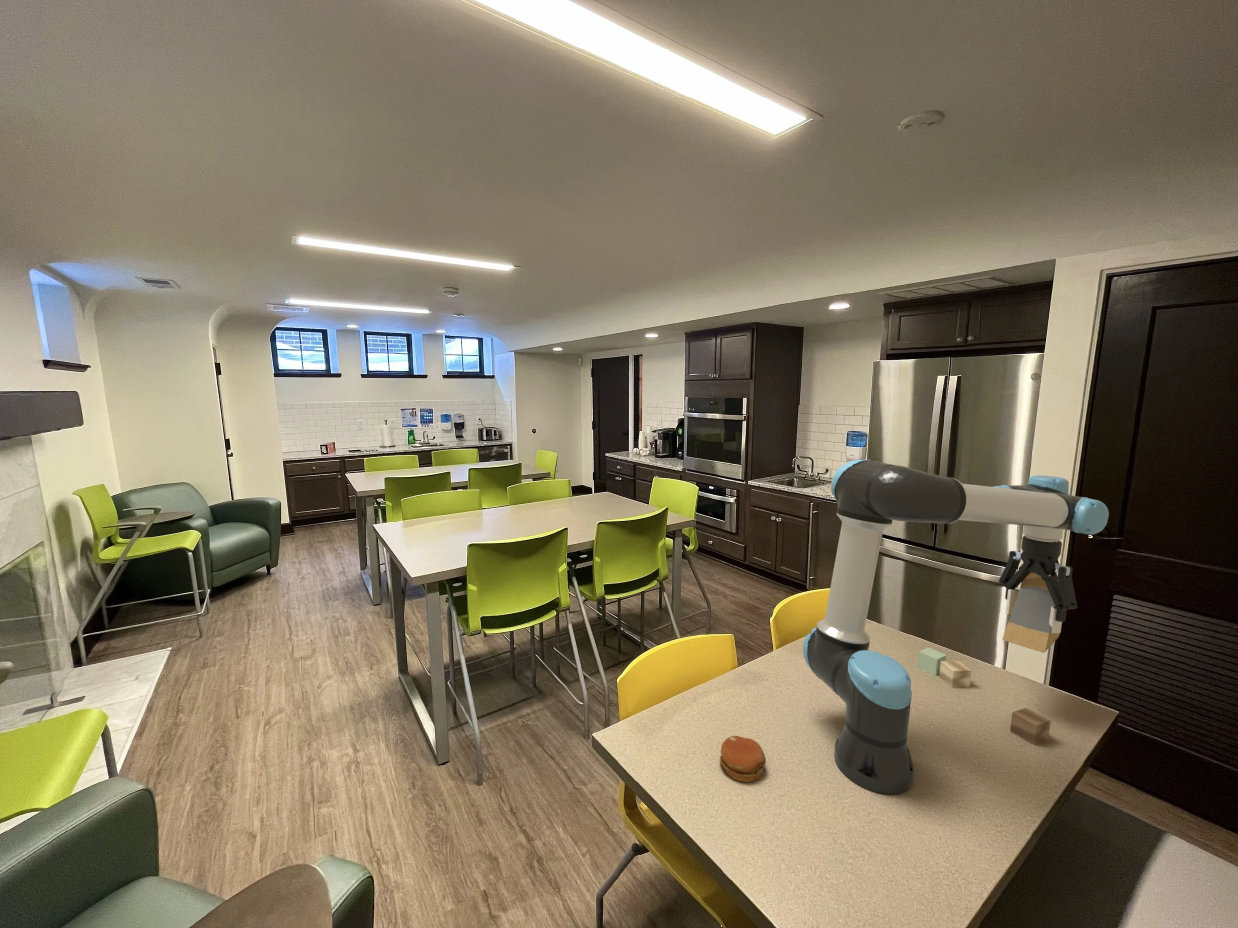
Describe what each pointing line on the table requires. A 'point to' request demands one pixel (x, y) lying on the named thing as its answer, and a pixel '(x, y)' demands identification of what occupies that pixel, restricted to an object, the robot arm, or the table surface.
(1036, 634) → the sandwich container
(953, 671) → the maple cube
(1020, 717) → the walnut cube
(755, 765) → the burger
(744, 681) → the table surface
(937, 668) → the sage cube
